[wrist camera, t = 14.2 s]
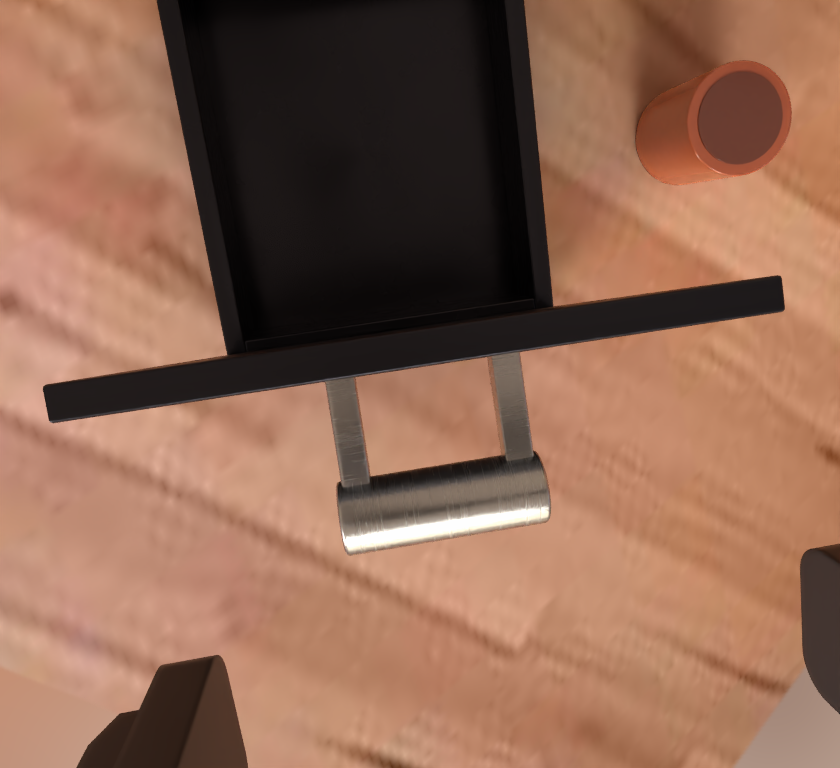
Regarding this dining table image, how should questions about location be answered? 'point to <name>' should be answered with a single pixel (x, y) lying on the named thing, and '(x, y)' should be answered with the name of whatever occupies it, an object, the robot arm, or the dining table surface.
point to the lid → (411, 348)
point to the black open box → (360, 163)
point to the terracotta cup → (715, 125)
